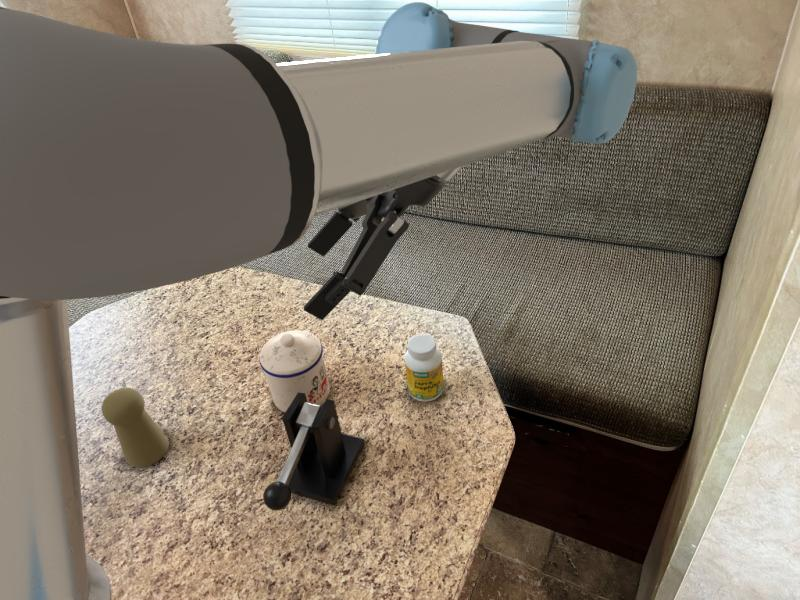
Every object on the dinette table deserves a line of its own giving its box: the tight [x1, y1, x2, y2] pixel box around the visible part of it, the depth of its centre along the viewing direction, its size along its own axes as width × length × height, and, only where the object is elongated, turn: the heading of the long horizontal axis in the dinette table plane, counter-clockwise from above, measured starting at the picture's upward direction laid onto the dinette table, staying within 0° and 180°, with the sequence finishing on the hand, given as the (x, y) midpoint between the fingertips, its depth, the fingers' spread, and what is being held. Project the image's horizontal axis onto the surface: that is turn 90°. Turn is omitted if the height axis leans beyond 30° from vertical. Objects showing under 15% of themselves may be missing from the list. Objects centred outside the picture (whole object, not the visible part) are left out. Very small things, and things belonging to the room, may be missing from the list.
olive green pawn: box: [101, 387, 170, 468], centre depth 83 cm, size 6×6×11 cm
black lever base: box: [281, 392, 366, 506], centre depth 78 cm, size 10×8×12 cm
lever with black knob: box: [262, 403, 322, 512], centre depth 73 cm, size 13×3×3 cm, turn 160°
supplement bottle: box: [404, 333, 445, 403], centre depth 88 cm, size 5×5×10 cm
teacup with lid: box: [258, 329, 331, 413], centre depth 89 cm, size 12×9×12 cm
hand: (314, 280), depth 78 cm, fingers open, 13 cm apart
